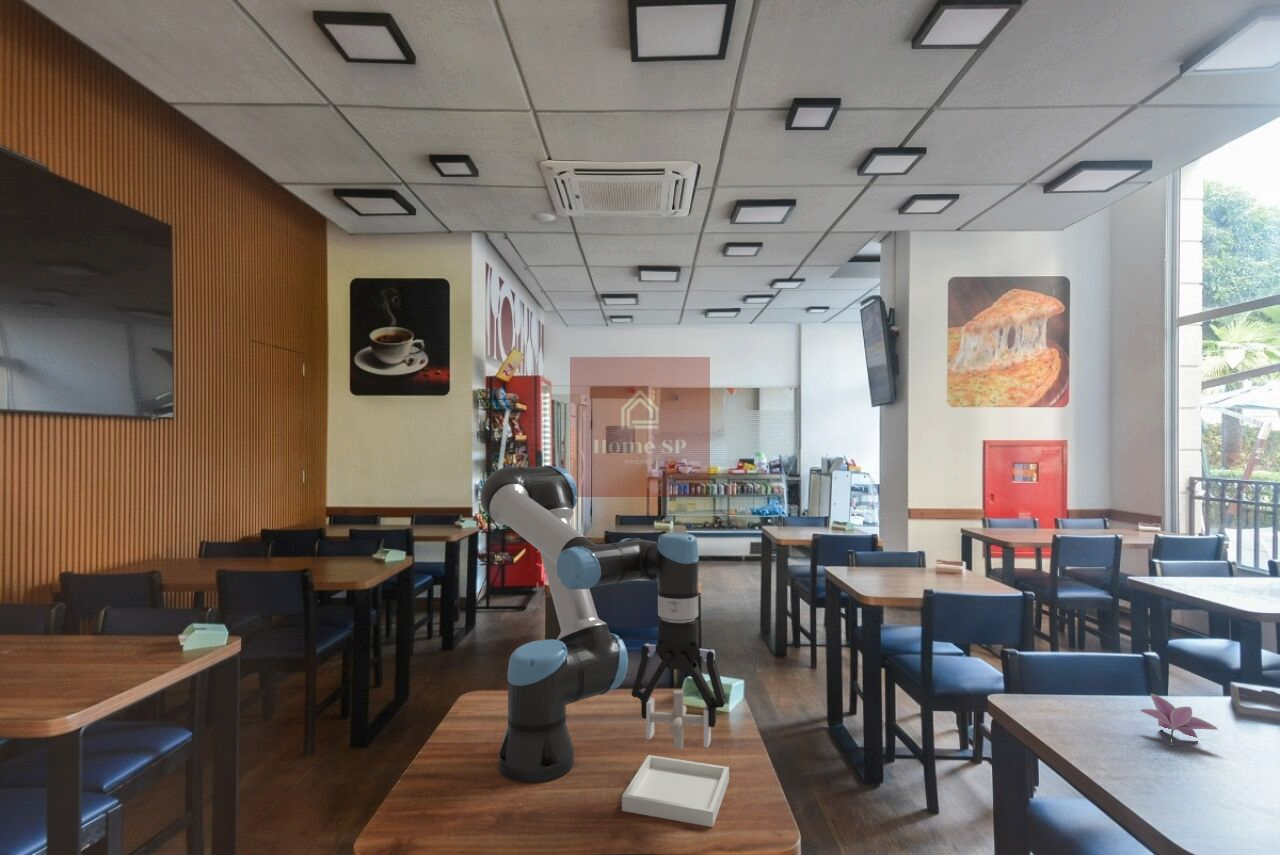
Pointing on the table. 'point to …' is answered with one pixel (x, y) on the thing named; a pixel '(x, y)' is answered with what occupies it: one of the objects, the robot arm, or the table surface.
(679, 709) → the pipe connector
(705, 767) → the tray
